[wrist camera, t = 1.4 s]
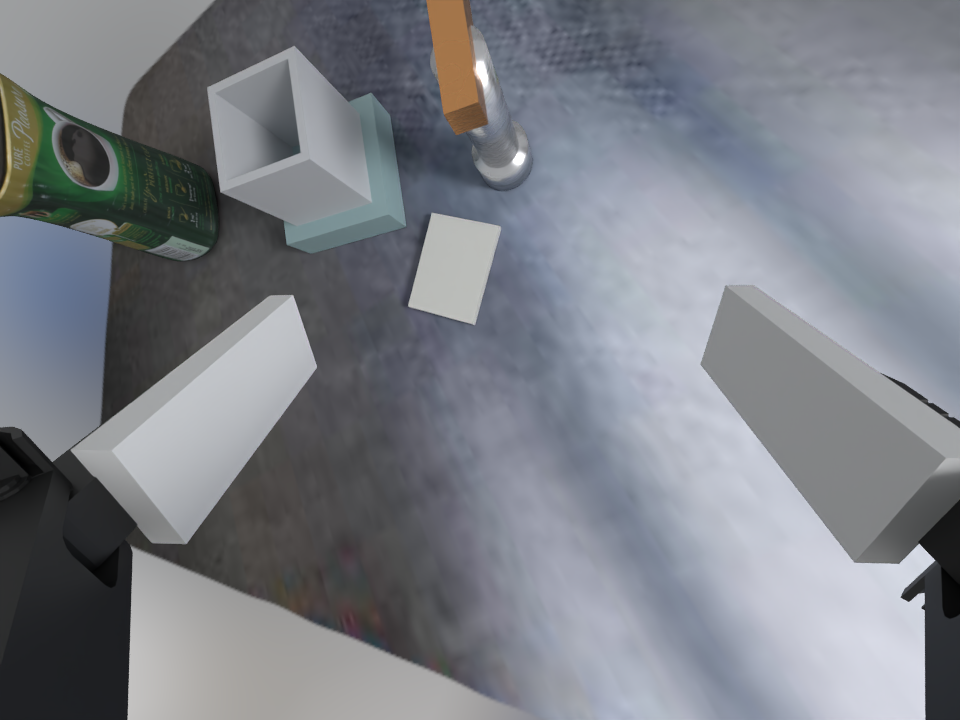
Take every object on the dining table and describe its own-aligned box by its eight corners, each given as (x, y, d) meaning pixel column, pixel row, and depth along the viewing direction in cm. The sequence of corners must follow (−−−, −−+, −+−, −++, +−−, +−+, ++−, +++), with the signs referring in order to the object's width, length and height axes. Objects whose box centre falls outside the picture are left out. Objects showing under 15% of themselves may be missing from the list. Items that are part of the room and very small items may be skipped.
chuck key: (475, 130, 31) (401, -12, 19) (525, 113, 30) (480, -50, 18) (488, 213, 31) (421, 122, 19) (539, 199, 30) (502, 92, 18)
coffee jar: (162, 182, 41) (-164, 49, 23) (217, 162, 39) (-97, -2, 21) (171, 270, 41) (-153, 203, 23) (227, 255, 39) (-83, 168, 21)
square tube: (297, 150, 36) (191, 76, 27) (390, 115, 33) (308, 18, 24) (311, 253, 36) (208, 215, 26) (406, 227, 33) (330, 173, 23)
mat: (434, 215, 32) (431, 212, 32) (501, 228, 31) (499, 225, 30) (411, 307, 33) (407, 306, 32) (474, 325, 31) (472, 324, 31)
